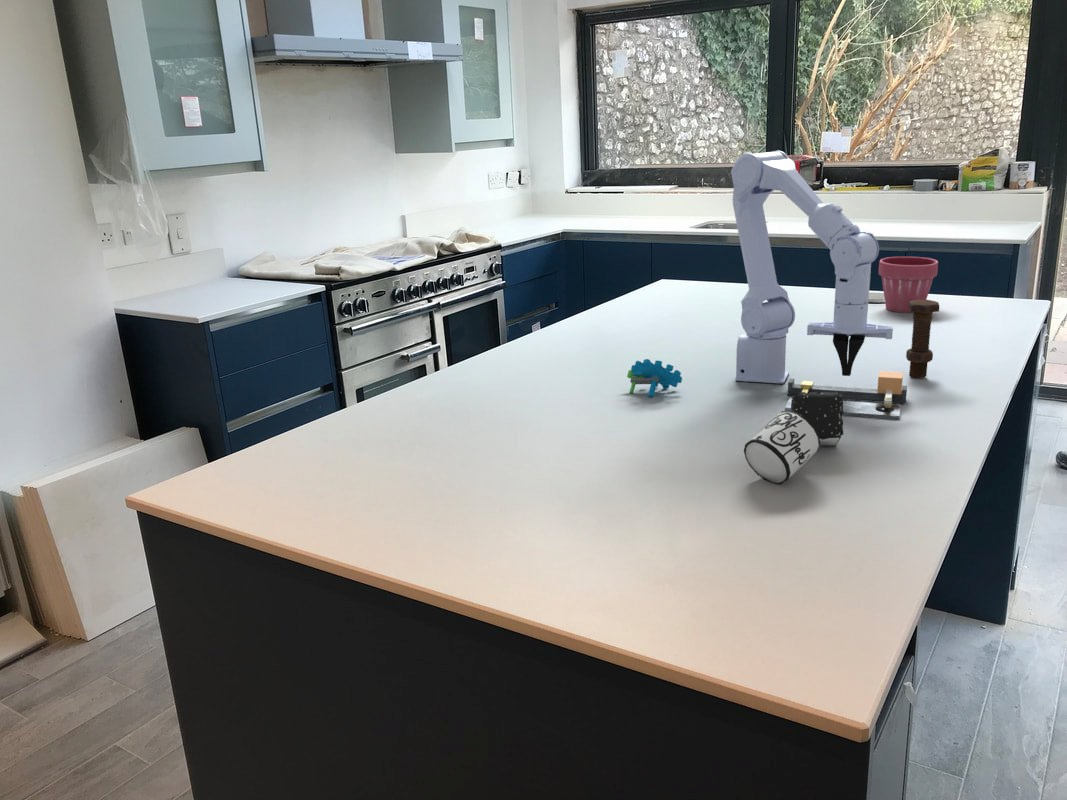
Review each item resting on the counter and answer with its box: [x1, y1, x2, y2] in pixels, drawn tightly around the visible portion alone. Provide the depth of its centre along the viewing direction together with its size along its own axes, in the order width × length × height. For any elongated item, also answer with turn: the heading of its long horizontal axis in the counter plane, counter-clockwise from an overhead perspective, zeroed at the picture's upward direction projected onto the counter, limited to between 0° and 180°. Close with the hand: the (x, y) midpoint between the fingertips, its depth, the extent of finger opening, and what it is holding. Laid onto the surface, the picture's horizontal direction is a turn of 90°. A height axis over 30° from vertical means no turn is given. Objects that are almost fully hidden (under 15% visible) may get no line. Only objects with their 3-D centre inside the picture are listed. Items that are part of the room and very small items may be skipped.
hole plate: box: [784, 396, 902, 420], centre depth 156 cm, size 19×6×1 cm, turn 67°
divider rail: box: [787, 377, 908, 405], centre depth 160 cm, size 21×10×3 cm, turn 67°
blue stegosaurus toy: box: [626, 358, 683, 398], centre depth 171 cm, size 11×6×10 cm
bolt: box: [905, 299, 940, 380], centre depth 170 cm, size 6×5×15 cm
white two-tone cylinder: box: [743, 392, 845, 485], centre depth 133 cm, size 25×10×10 cm, turn 144°
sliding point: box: [877, 370, 904, 408], centre depth 156 cm, size 4×10×4 cm, turn 157°
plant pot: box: [878, 256, 939, 313], centre depth 229 cm, size 14×14×13 cm
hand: (846, 374), depth 162 cm, fingers closed
